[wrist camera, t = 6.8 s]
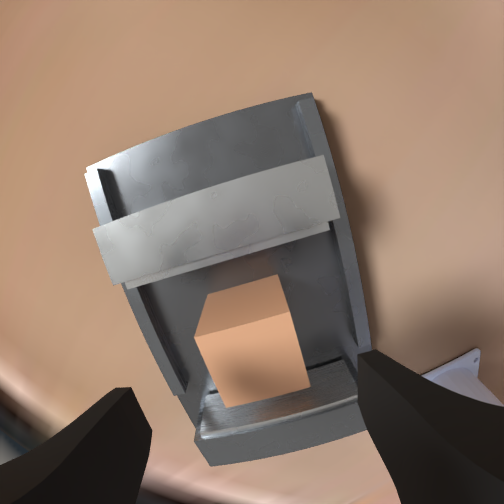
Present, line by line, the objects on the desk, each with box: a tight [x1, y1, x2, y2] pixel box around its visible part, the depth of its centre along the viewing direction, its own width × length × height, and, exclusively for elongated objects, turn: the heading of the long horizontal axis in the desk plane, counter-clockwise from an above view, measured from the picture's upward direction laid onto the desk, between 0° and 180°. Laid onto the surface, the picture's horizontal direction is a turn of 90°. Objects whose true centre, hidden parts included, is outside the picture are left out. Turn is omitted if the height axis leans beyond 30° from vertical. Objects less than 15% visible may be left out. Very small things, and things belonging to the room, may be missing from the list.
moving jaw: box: [93, 155, 340, 289], centre depth 14 cm, size 3×10×4 cm, turn 107°
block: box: [194, 274, 311, 408], centre depth 15 cm, size 4×4×5 cm
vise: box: [85, 93, 372, 466], centre depth 16 cm, size 18×13×5 cm
